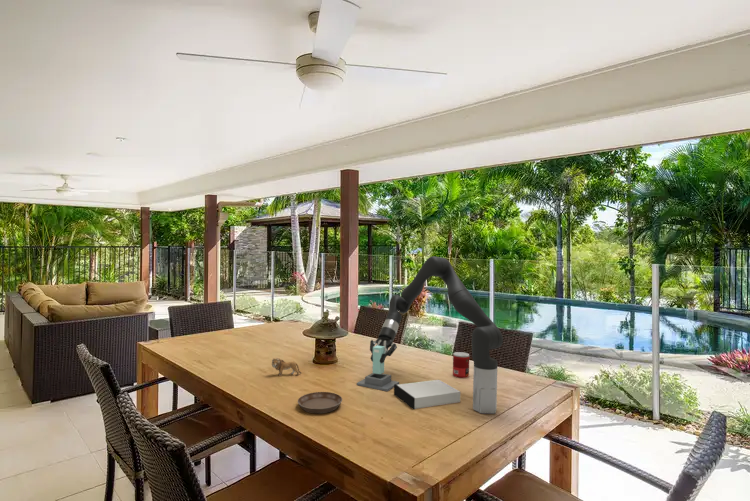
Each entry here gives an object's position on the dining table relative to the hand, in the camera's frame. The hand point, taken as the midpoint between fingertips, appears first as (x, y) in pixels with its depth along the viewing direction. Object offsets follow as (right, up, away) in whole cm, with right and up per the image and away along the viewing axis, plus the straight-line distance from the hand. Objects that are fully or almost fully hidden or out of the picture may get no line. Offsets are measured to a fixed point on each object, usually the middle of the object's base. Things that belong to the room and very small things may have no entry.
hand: (376, 361), depth 195 cm
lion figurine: (-45, -10, +12) cm, 47 cm away
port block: (+1, -11, +2) cm, 11 cm away
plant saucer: (-23, -12, -26) cm, 36 cm away
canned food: (+42, -12, +18) cm, 47 cm away
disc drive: (+21, -13, -14) cm, 29 cm away
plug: (+1, -6, +2) cm, 6 cm away
